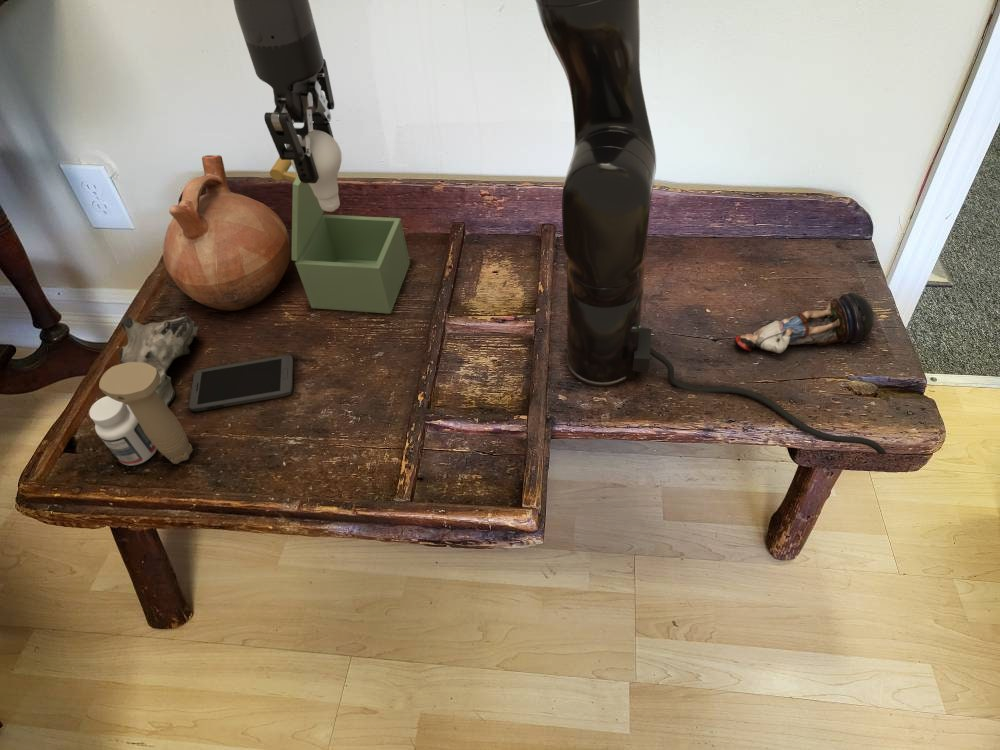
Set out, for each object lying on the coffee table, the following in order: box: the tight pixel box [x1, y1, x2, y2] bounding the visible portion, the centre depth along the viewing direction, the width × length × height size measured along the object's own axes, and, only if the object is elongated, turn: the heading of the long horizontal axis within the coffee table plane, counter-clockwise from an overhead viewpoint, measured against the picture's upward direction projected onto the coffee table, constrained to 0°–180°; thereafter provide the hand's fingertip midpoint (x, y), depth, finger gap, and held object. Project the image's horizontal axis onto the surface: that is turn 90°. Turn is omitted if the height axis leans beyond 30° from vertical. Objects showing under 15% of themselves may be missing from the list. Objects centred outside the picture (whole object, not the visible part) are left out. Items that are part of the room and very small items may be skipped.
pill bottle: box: [88, 395, 158, 467], centre depth 92 cm, size 5×5×9 cm
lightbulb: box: [291, 130, 342, 213], centre depth 91 cm, size 6×6×11 cm
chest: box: [294, 213, 411, 314], centre depth 110 cm, size 13×12×9 cm
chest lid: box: [269, 156, 325, 262], centre depth 102 cm, size 14×12×5 cm
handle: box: [98, 362, 194, 465], centre depth 88 cm, size 5×6×15 cm
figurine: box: [734, 292, 875, 354], centre depth 98 cm, size 8×7×18 cm
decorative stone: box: [118, 312, 200, 408], centre depth 101 cm, size 16×9×10 cm, turn 178°
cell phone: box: [188, 354, 294, 413], centre depth 101 cm, size 7×14×1 cm, turn 99°
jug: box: [162, 154, 291, 312], centre depth 108 cm, size 18×18×20 cm
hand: (319, 165), depth 90 cm, fingers closed on lightbulb, 6 cm apart
